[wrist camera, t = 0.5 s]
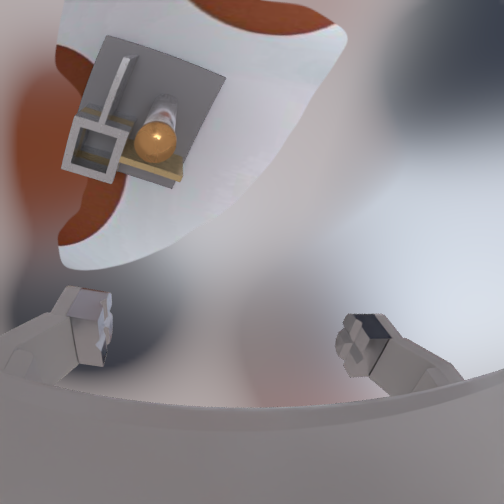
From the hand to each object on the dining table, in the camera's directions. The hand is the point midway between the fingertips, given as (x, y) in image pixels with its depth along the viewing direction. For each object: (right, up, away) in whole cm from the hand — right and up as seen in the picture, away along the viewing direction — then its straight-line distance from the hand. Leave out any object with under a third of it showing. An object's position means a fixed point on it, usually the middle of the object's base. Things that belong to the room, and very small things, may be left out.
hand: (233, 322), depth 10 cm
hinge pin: (-13, +26, +35) cm, 46 cm away
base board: (-18, +25, +36) cm, 47 cm away
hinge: (-17, +24, +35) cm, 46 cm away
